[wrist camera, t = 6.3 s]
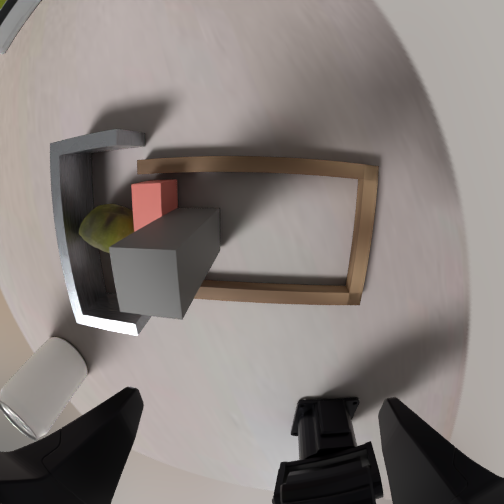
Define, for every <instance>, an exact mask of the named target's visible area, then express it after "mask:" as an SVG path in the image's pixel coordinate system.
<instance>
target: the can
mask: <svg viewBox="0 0 504 504" xmlns="http://www.w3.org/2000/svg"><path fill="white" fill-rule="evenodd" d="M86 376H87V366H86V363H85V361H84V359H83V357H82V356H81V354H80V353H79V352H78V350H77V349H76V348H75V347H74V346H73V345H71V344H70V343H69V342H67V341H66V340H64V339H62V338H58V337H51V338H49V339H48V340H47V341H46V342H45V343H44V344H43V345H42V346H41V347H40V348H39V349H38V350H37V351H36V352H35V353H34V354H33V355H32V356H31V357H30V358H29V359H28V360H27V361H26V362H25V363H24V365H22V367H21V368H20V369H19V370H18V371H17V372H16V373H15V374H14V375H13V376H12V377H11V378H10V380H9V381H8V382H7V383H6V384H5V385H4V387H3V388H2V390H1V394H0V409H1V411H2V412H3V414H4V415H5V416H6V417H7V418H8V419H9V421H10V422H11V423H12V424H13V425H14V426H15V427H16V428H18V429H19V430H20V431H21V432H22V433H23V434H25V435H26V436H28V437H29V438H30V439H32V440H34V441H37V440H38V437H40V436H43V435H45V434H46V433H47V432H48V431H49V429H50V428H51V427H52V425H53V424H54V422H55V421H56V419H57V418H58V416H59V415H60V413H61V412H62V410H63V409H64V408H65V406H66V405H67V403H68V402H69V400H70V399H71V398H72V396H73V395H74V393H75V392H76V391H77V389H78V388H79V386H80V385H81V384H82V382H83V381H84V379H85V378H86Z"/></svg>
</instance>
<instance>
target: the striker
mask: <svg viewBox="0 0 504 504" xmlns="http://www.w3.org/2000/svg"><path fill="white" fill-rule="evenodd" d="M131 188H132V207H133V221H134V232H133V233H132V234H130V235H128V236H127V237H125V238H123V239H122V240H120V241H118V242H117V243H115V244H113V245H112V246H110V247H109V252H110V259H111V265H112V271H113V277H114V283H115V288H116V293H117V298H118V303H119V308H120V312H127V313H134V314H141V315H148V316H156V317H164V318H172V319H181V320H182V319H183V317H184V316H185V314H186V312H187V310H188V308H189V306H190V304H191V302H192V301H193V299H194V297H195V295H196V293H197V291H198V290H199V288H200V286H201V284H202V282H203V280H204V279H205V277H206V275H207V273H208V271H209V270H210V268H211V266H212V264H213V262H214V260H215V259H216V257H217V255H218V253H219V252H220V208H178V197H177V179H166V180H149V181H145V182H140V183H135V184H131Z"/></svg>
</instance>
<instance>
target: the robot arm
mask: <svg viewBox="0 0 504 504" xmlns="http://www.w3.org/2000/svg"><path fill="white" fill-rule="evenodd" d="M358 404H359V399H358V398H344V399H324V400H300V401H298V403H297V407H296V411H295V416H294V420H293V425H292V429H291V435H293V436H298V440H299V460H297V461H291V462H281V464H280V469H279V470H278V476H277V481H276V486H275V491H274V496H273V499H272V503H273V504H376V501H375V499H379V498H382V497H383V488H382V482H381V477H380V473H379V469H378V465H377V461H376V458H375V454H374V450H373V447H372V443H371V441H370V442H367V443H365V444H363V445H360V446H357V443H356V439H355V434H354V430H353V425H352V421H351V420H352V418H353V416H354V413H355V411H356V409H357V407H358ZM143 406H144V404H143V400H142V398H141V395H140V392H139V390H138V389H137V388H133V387H126V388H124V389H123V390H121V391H120V392H118V393H117V394H115V395H114V396H112V397H111V398H109V399H107V400H106V401H104V402H103V403H101V404H100V405H98V406H97V407H95V408H93V409H92V410H90V411H89V412H87V413H85V414H84V415H82V416H81V417H79V418H77V419H76V420H74V421H72V422H71V423H69V424H67V425H66V426H64V427H62V429H59V430H58V431H56V432H54V433H52V434H50V435H49V436H47V437H45V438H43V439H41V440H38V441H36V442H34V443H32V444H29V445H27V446H24V447H22V448H19V449H17V450H14V451H10V452H0V504H111V501H112V498H113V496H114V493H115V490H116V487H117V485H118V482H119V479H120V477H121V474H122V471H123V469H124V466H125V463H126V461H127V458H128V456H129V453H130V451H131V448H132V446H133V443H134V440H135V437H136V433H137V430H138V426H139V422H140V418H141V414H142V411H143ZM378 418H379V426H380V435H381V444H382V452H383V456H384V461H385V466H386V470H387V475H388V480H389V485H390V490H391V496H392V501H393V504H504V478H502V477H499V476H497V475H495V474H494V473H492V472H490V471H489V470H487V469H485V468H484V467H482V466H481V465H479V464H477V463H476V462H474V461H473V460H471V459H470V458H469V457H467V456H466V455H465V454H463V453H462V452H461V451H460V450H458V449H457V448H455V446H453V445H452V444H451V443H450V442H449V441H447V440H446V439H445V438H444V437H443V436H441V435H440V434H439V433H438V432H437V431H435V430H434V429H433V428H432V427H431V426H430V425H428V424H427V423H426V422H425V421H424V420H422V419H421V418H420V417H419V416H418V415H417V414H415V413H414V412H413V411H412V410H411V409H409V408H408V407H407V406H406V405H405V404H404V403H402V402H401V401H400V400H399V399H398V398H396V397H393V398H387V399H385V401H384V403H383V405H382V407H381V409H380V411H379V415H378Z"/></svg>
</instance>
